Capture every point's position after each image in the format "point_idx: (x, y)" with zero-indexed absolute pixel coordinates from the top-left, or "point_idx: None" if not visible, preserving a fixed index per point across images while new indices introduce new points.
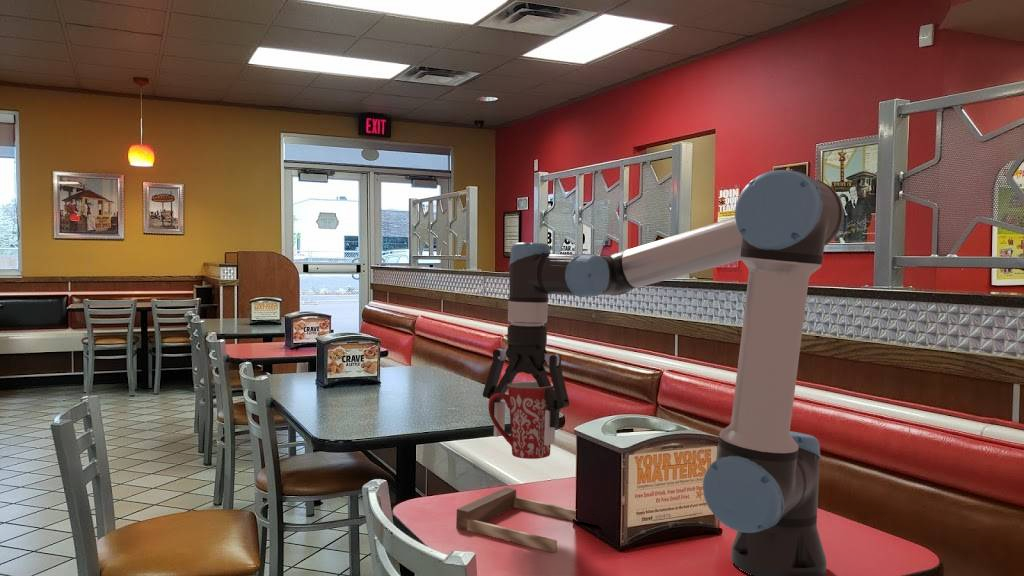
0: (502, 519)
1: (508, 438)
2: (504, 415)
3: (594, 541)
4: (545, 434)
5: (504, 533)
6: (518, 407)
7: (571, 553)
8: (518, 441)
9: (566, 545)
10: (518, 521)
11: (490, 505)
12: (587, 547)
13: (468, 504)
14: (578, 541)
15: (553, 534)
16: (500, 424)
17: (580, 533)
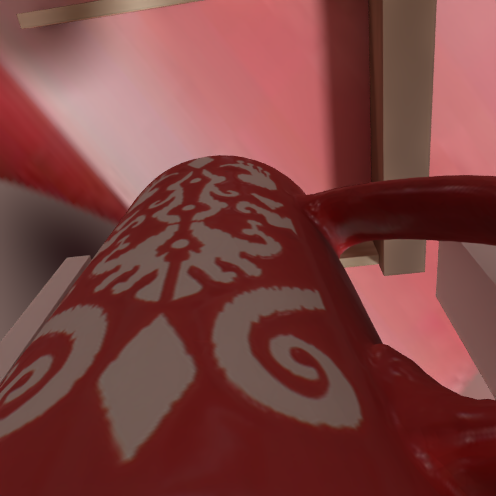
0: (337, 135)
1: (322, 199)
2: (486, 378)
3: (37, 176)
4: (54, 291)
5: None
6: (176, 313)
7: (5, 51)
8: (217, 181)
9: (60, 95)
10: (289, 156)
11: (380, 119)
12: (15, 125)
13: (430, 28)
14: (63, 145)
15: (145, 141)
16: (466, 294)
17: (103, 199)
